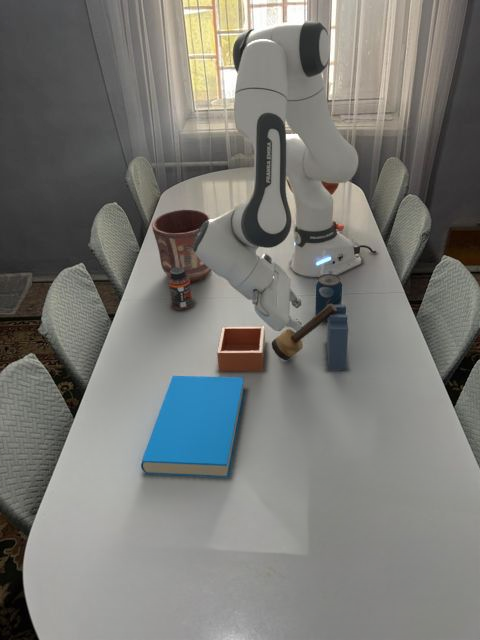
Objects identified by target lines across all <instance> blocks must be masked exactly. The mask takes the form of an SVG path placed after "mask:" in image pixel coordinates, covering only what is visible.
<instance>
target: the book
mask: <svg viewBox="0 0 480 640" xmlns="http://www.w3.org/2000/svg"><path fill="white" fill-rule="evenodd" d="M244 379H245V378H244V376H243V377H241V376H238V377H237V376H203V375H202V376H201V375H200V376H198V375H197V376H196V375H171V379H170V382H169V385H168V388H167V390H166V393H165V396H164V398H163V402H162V404H161V406H160V409H159V411H158V415H157V417H156V420H155V423H154V426H153V429H152V431H151V434H150V437H149V440H148V443H147V445H146V448H145V451H144V453H143V456H142V459H141V464H140V468H141V470H142V471H143V473H145V475H159V476H160V475H163V476H181V477H182V476H183V477H201V478H203V477H205V478H223V479H224V478H226V479H229V478H230V473H231V468H232V461H233V457H234V452H235V451H234V450H235V446H236V441H237V436H238V431H239V425H240V424H239V423H240V418H241V413H242V408H243V403H244V397H245V391H246V389H245V388H244Z"/></svg>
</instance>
